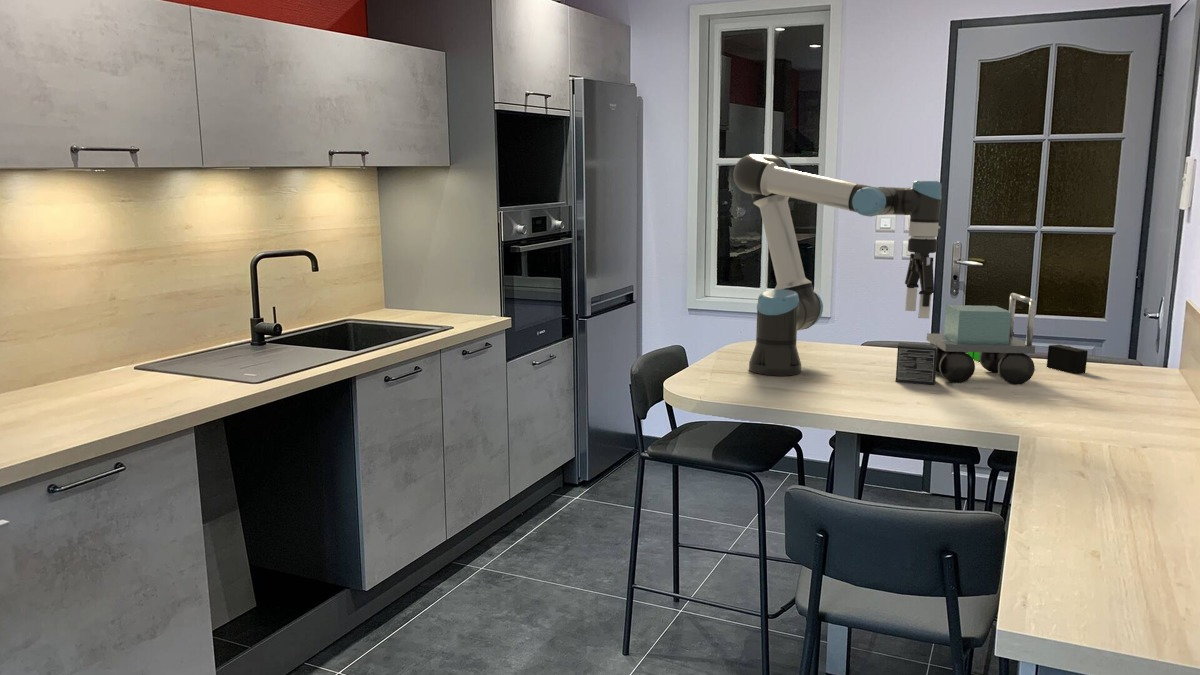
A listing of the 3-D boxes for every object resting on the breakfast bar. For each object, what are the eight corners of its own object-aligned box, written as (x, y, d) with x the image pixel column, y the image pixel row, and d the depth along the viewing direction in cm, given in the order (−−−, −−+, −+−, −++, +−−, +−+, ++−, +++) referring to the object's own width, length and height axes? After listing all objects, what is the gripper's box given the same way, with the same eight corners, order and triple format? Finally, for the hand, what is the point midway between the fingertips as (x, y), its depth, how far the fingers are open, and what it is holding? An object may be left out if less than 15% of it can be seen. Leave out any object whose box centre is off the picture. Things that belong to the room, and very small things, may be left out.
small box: (935, 380, 249) (938, 344, 247) (935, 385, 243) (938, 348, 241) (896, 377, 253) (899, 341, 251) (894, 382, 247) (897, 345, 245)
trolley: (940, 383, 246) (947, 298, 242) (922, 369, 264) (928, 290, 259) (1033, 385, 244) (1041, 300, 240) (1008, 371, 262) (1016, 292, 258)
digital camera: (1088, 373, 261) (1091, 350, 260) (1075, 374, 259) (1077, 351, 258) (1060, 366, 271) (1062, 344, 269) (1046, 367, 269) (1048, 345, 267)
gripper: (951, 241, 229) (944, 321, 233) (924, 235, 254) (918, 308, 257) (921, 240, 230) (914, 321, 233) (897, 234, 254) (892, 307, 258)
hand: (916, 314), depth 245 cm, fingers open, 13 cm apart
